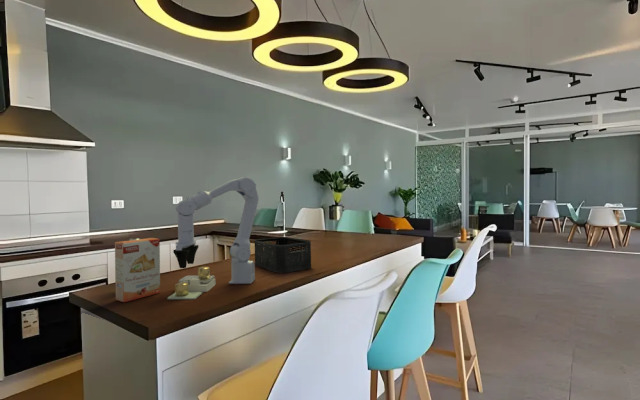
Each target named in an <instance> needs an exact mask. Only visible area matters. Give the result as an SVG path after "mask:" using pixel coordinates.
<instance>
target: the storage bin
mask: <svg viewBox="0 0 640 400" xmlns="http://www.w3.org/2000/svg"><path fill="white" fill-rule="evenodd" d="M253 241H254V264H255V266H257V267H259V266H260V268H262V269H265V270H268V271H270V272H274V273H278V274H279V273H280V274H284V273H285V274H286V273H292V272H293V273H294V272H298V271H304V270H308V269H311V268H312V250H311V249H312V247H311V245H312V243H311V241H310V240H307V239H302V238H301V239H300V238H294V237H290V236H289V237H288V236H278V237H269V238H258V239H254V240H253ZM273 241H276V242H275V243H274V244H273V243H269V242H273Z"/></svg>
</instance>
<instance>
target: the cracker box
mask: <svg viewBox="0 0 640 400" xmlns="http://www.w3.org/2000/svg"><path fill="white" fill-rule="evenodd" d="M160 241H161V240H160V238H157V237H156V238H155V237H147V238H139V239H138V240H130V241H129V240H122V241H115V242H114V255H115V256H114V267H115V268H114V270H115V271H114V274H115V279H114V281H115V287H114V288H115V301H118V302H122V303H128V302H131V301H135V300H138V299H141V298H146V297H149V296H153V295H157V294H160V293H161V267H160V266H161V260H160V259H161V255H160V254H161V250H160V249H161V247H160V245H161V244H160V243H161V242H160Z"/></svg>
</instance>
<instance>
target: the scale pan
mask: <svg viewBox="0 0 640 400" xmlns="http://www.w3.org/2000/svg"><path fill="white" fill-rule="evenodd" d="M183 279H198V275H185V276H184V277H182V278H180V279H179V280H178V283H181V282H183ZM212 279H216V278H215V275H210V278H208V279H200V282H209V281H211V280H212Z"/></svg>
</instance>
